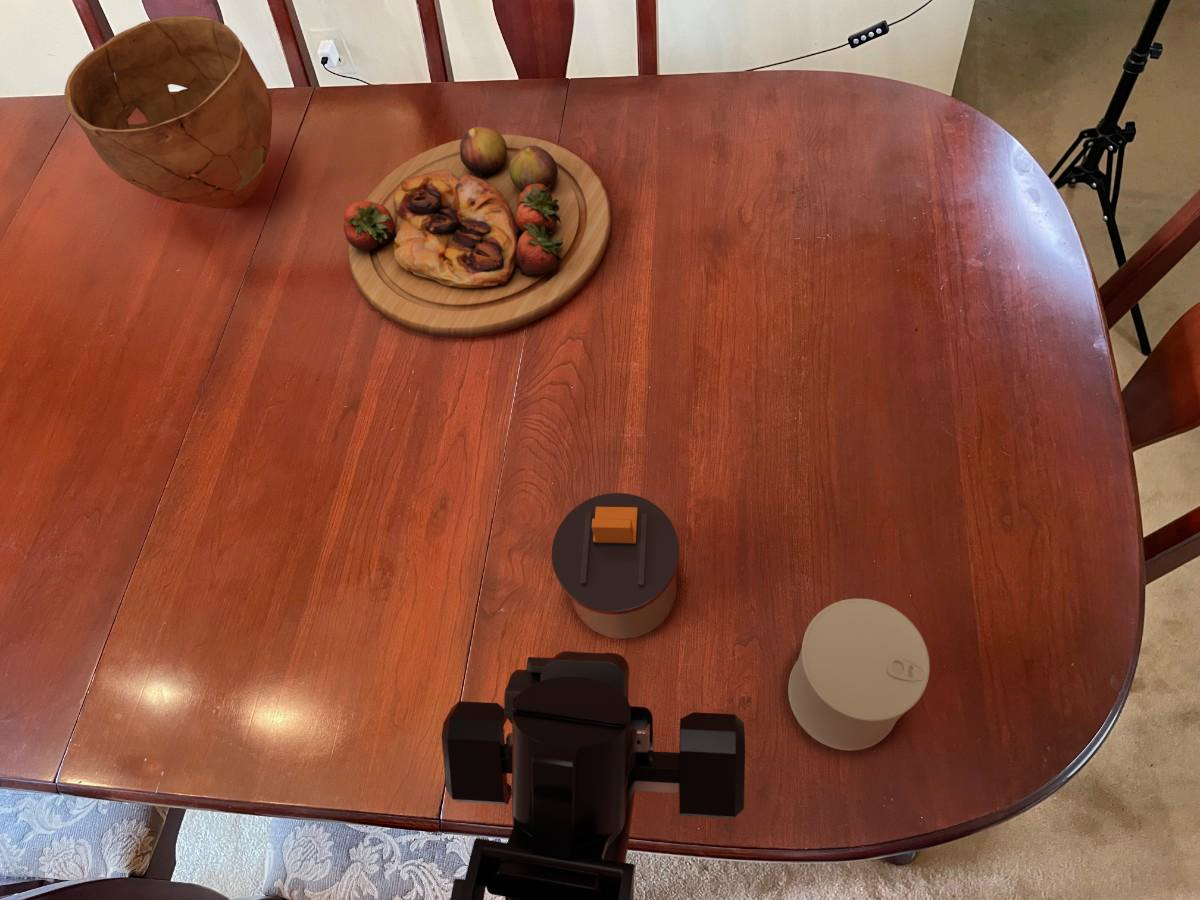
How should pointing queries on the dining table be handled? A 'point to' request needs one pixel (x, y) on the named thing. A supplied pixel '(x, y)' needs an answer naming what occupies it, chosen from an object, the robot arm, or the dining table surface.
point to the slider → (615, 525)
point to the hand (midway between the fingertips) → (608, 688)
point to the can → (857, 673)
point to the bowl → (176, 110)
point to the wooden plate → (478, 234)
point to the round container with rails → (618, 568)
